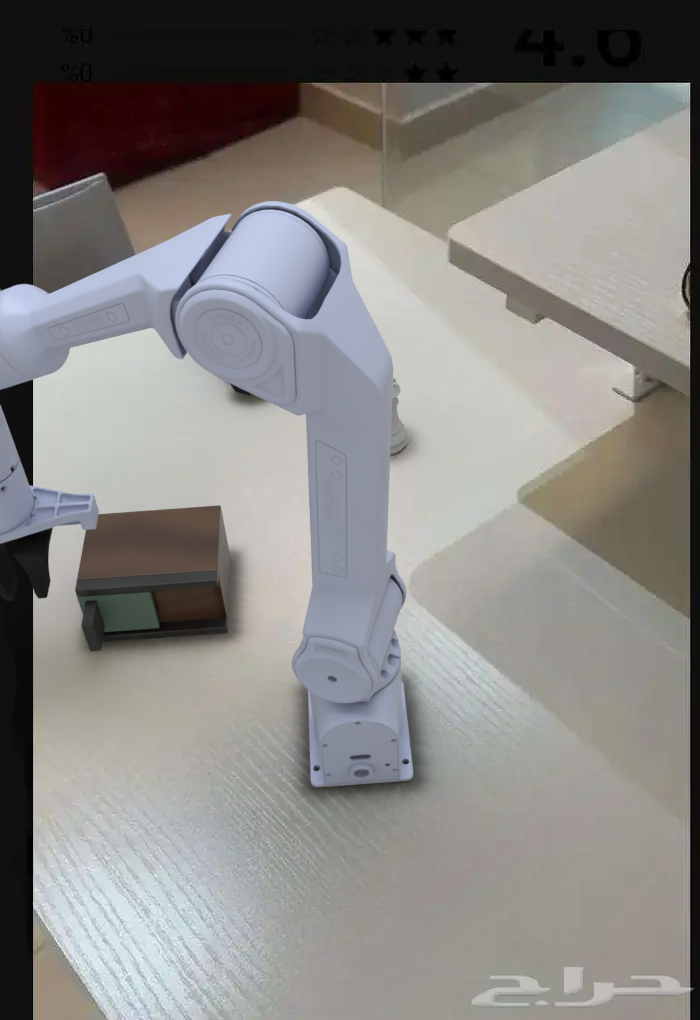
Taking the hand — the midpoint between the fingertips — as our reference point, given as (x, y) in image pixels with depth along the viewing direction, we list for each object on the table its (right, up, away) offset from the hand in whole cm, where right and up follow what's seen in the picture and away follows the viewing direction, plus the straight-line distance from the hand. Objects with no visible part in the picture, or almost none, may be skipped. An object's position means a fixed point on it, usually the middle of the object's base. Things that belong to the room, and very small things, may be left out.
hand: (28, 590), depth 86 cm
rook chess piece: (+30, +13, +25) cm, 42 cm away
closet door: (+6, -5, +6) cm, 10 cm away
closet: (+9, -1, +12) cm, 15 cm away
